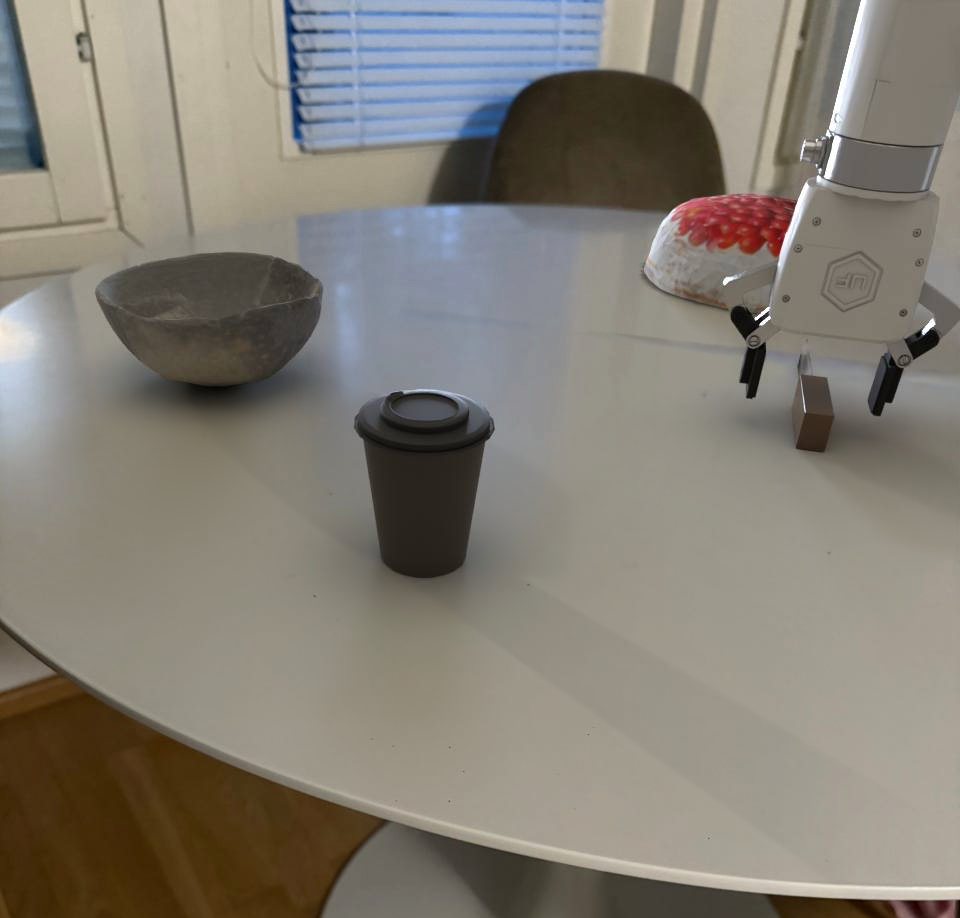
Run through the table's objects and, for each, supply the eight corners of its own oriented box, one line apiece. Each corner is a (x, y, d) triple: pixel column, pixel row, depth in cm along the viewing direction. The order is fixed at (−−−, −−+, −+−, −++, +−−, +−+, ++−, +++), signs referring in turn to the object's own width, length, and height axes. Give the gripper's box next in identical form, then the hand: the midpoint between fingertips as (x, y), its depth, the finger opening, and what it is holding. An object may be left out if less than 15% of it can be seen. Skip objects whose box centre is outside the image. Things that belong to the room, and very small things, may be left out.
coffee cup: (371, 516, 63) (367, 371, 57) (492, 526, 63) (501, 381, 57) (346, 583, 57) (338, 428, 51) (481, 595, 57) (489, 440, 51)
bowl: (206, 322, 91) (195, 233, 86) (365, 359, 85) (363, 267, 80) (64, 385, 78) (41, 285, 73) (240, 435, 72) (228, 330, 67)
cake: (907, 327, 98) (940, 225, 92) (682, 331, 95) (700, 224, 88) (810, 261, 116) (832, 172, 110) (618, 262, 113) (629, 169, 106)
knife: (824, 452, 74) (834, 416, 72) (795, 448, 75) (805, 412, 73) (811, 368, 88) (819, 336, 87) (786, 365, 89) (794, 333, 87)
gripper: (750, 163, 64) (700, 404, 74) (1022, 191, 62) (931, 436, 72) (749, 143, 70) (703, 369, 80) (997, 168, 67) (916, 398, 78)
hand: (811, 400), depth 76 cm, fingers open, 9 cm apart
